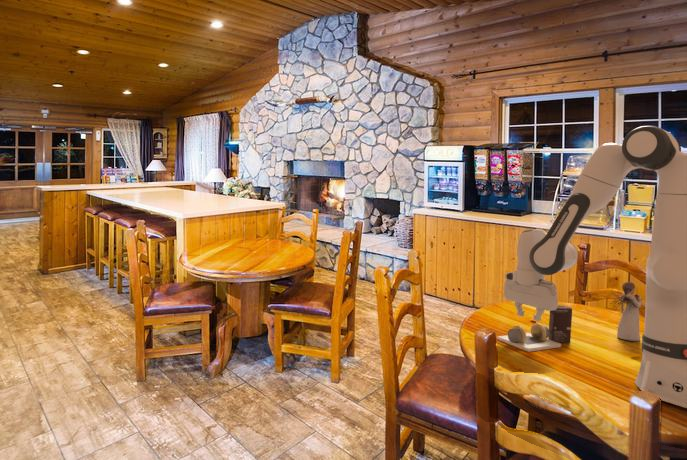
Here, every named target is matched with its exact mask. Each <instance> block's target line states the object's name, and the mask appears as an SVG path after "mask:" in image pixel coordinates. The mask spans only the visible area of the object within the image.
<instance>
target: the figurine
mask: <svg viewBox="0 0 687 460" xmlns="http://www.w3.org/2000/svg"><path fill="white" fill-rule="evenodd" d="M621 288H622V290H623V293H622V294H621V292H620V291H619V290H618V291H617V293H619V294H620V295H618V294H617V293H613V291H610V293H611V294H612V295H614V296H615V297H616V299H614V300H613V301H612V302H611V303H610V305H612V304H616V303H617V304H616V305H613V308H615V307H616V310H617V311H618V307H619V306H620V308H619V310H620V312H621V317H620V319H619V323H618V326H617V331H616V332H617V334H616V337H617V339H621V340H625V341H631V342H639V341H641V336H640V335H641V334H640V309H639V308H641V307H642V299H643V298H642V296H640V295H639V294H636V293H635V292H636V290H637V289H636V286H635V283H633V282H631V281H626V282H624V283H622V287H621ZM634 293H635V294H634ZM619 301H620V302H619ZM624 305H626V306H625V307H624Z"/></svg>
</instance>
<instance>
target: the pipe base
mask: <svg viewBox="0 0 687 460" xmlns="http://www.w3.org/2000/svg"><path fill="white" fill-rule="evenodd" d="M548 337H549V327H547V326H546V325H545V324H543V325H542V323H533V324H532V325H531V327H530V332H526V330H525V329H524V328H523V327H522V326H520V325H514V326H513V327H512V328H510V329H509V330H508V331H507V335H506V334H505V335H500V336H497V337H496V339H497V341H500V342H503V343H505V344H508V345H510V346H512V347H515V348H518V349H521V350H523V351H526V352H529V353H530V352H535V351H543V350H549V349H550V350H551V349H556V348H561V347H562V343H561V342H554V341H551V340H549V339H548Z"/></svg>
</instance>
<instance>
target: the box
mask: <svg viewBox="0 0 687 460" xmlns="http://www.w3.org/2000/svg"><path fill="white" fill-rule="evenodd" d="M548 319H549V321H548V323H549V324H548V329H549V336H548V338H547V339H548V340H551V341H554V342H557V343H566V344H567V343H568V344H570V343H571V339H572V338H571V336H572V335H571V334H572V321H573V308H572V307H571V306H568V305H559V304H558V307H557V309H556V310H553V311H549V318H548Z"/></svg>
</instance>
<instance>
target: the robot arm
mask: <svg viewBox="0 0 687 460" xmlns="http://www.w3.org/2000/svg"><path fill="white" fill-rule="evenodd" d="M622 140H623V141H622V144H619V143H614V142H608V143H604V144H601V145H600V146H598V147H597V148H596V150H595V151H594V152H593V154H592V155H591V156H590V157H589V159H588V160H587V162H586V164H585V165H584V167H583V168H582V170H581V172H580V174H579V176H578V177H577V180H576V181H575V184H574V185H573V189H572V190H571V192H570V194H569V196H568V198H567V199H566V202H565V203H564V205H563V206H562V208H561V210H560V212H559V213H558V215H557V216H556V218H555V220H554V221H553V223H552V225H551V226H550V228H549V230H548V231H545V230H544V229H541V228H535V229H527V230H523V231H522V232H520V233H519V236H518V240H517V246H516V247H517V248H516V256H517V263H516V268H515V270H514V271H510V272H506V273H505V274H504V279H505V280H504V284H503V285H504V286H503V297H504V298H505V299H506V300H508V301H511V302H514V306H515V309H516V311H517V312H516V313H517V314H516V315H517V316H519V317H524V316H525V310H523V309H524V308H523V305H526V306H529V307H534V308H536V309H535V311H536V314H533V321H535V322H541V321H542V315H543V314H544V312H545V311H546V312H547V311H548V312H550V311H553V310H556V309H557V307H558V305H559V304H558V303H559V302H558V293H557V286H556V285H555V283H554V282H553V281H550V280H545V279H546V276H551V275H555V274H556V273H559V272H562V271H565V270H568V269H571V268H572V267H574V266H575V265H576V264H577V262H578V259H579V253H578V249H577V247H576V246H575V245H574V244H573V243H571V242H570V241H571V240H572V238H573V236H574V235H575V232H576V231H577V230H578V228H579V227H580V225H581V223H583V221H584V220H585V219H586V218H588V217H589V216H590V215H592V214H594V213H597V212H598V211H600V210H601V209H604V208H605V207H607V205H608V204H609V203H610V202H611V201H612V199H613V198H614V197H615V195H616V194H617V192H618V190H619V189H620V187H621V185H622V183H623V181H624V180H625V179H626V176H627V175H628V174H630V172H631V171H633V170H636V171H645V172H646V171H650V172H656V174H657V178H658V183H657V184H658V185H657V192H656V201H655V206H654V207H655V208H654V214H653V222H652V233H651V240H650V241H651V242H650V243H651V244H650V251H649V255H648V257H647V259H646V265H645V266H646V267H645V312H644V329H643V331H644V333H643V334H642V336H641V352H642V355H641V360H640V361H641V362H640V367H639V371H638V374H637V376H636V379H635V381H634V384H635V385H636V387H638V388H639V390H642V391H646V392H649V393H651V394H653V395H655V396H657V397H659V398H660V399H661V400H660V401H663V402H666V403H668V404H669V403H670V404H673V405H674V406H675V405H676V406H677V407H678V406H679V407H681V408H685V409H687V152H683V151H682V146H681V144H680V141H678V139H677V138H676V137H675V136H674V135H673V134H672V133H671V132H669V131H667V130H665V129H663V128H661V127H658V126H656V125H642V126H639V127H636V128H634V129H632V130H631V131H629V132H628V133H627V134H626V135H625V137H624V139H622Z"/></svg>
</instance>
